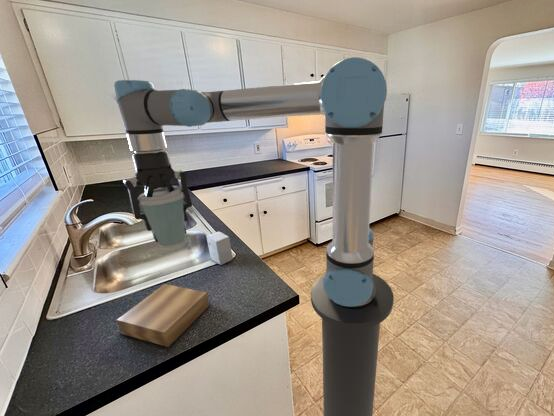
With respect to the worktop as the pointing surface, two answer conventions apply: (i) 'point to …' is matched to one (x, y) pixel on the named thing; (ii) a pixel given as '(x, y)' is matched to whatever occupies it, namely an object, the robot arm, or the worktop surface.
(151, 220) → the disposable coffee cup
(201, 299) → the maple block
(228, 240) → the small box
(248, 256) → the worktop surface
